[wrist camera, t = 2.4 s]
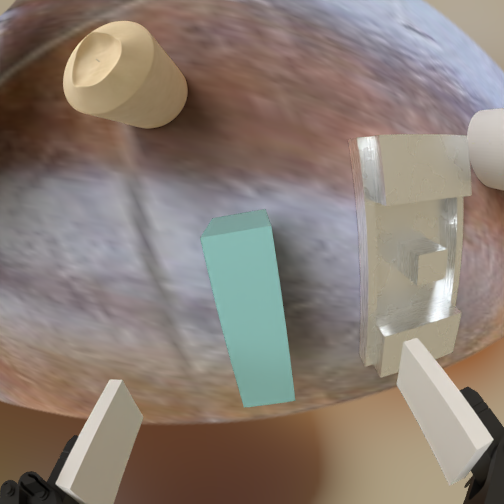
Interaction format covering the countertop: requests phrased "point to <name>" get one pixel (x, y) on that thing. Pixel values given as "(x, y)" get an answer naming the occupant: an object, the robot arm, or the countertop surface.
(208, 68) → the countertop surface
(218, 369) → the countertop surface
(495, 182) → the cup
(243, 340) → the teal notched block
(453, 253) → the white block holder tray
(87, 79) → the candle
